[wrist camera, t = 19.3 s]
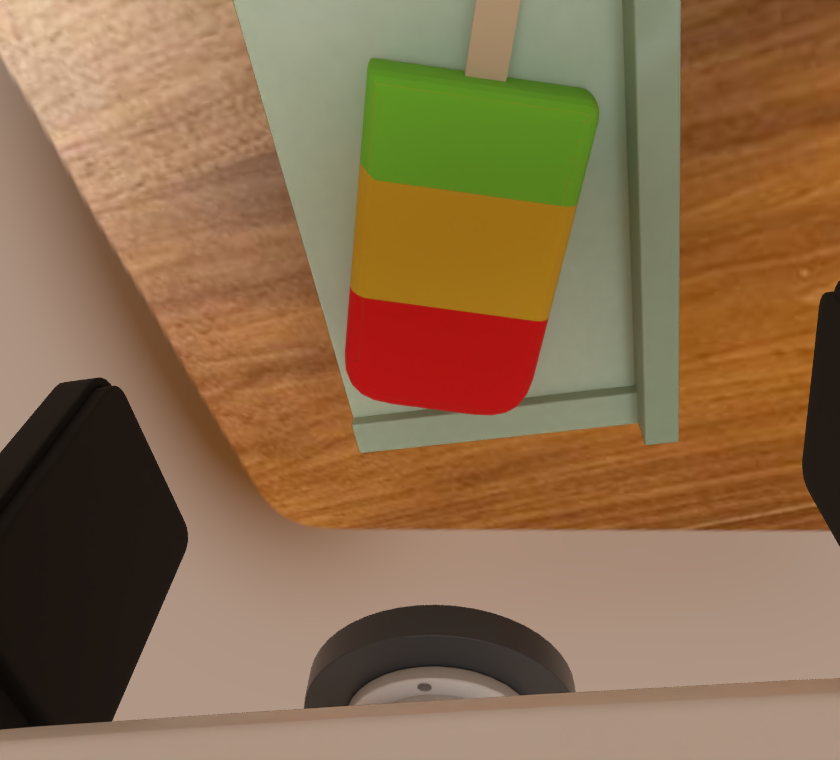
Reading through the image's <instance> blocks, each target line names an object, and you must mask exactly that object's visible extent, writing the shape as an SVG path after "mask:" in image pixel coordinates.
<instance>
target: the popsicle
mask: <svg viewBox="0 0 840 760" xmlns="http://www.w3.org/2000/svg"><path fill="white" fill-rule="evenodd" d="M520 1H521V0H476V2H475V9H474V16H473V22H472V29H471V36H470V42H469V49H468V56H467V63H466V69H465V71H460V70H453V69H446V68H439V67H432V66H425V65H418V64H411V63H404V62H397V61H390V60H383V59H376V58H371V59H370V61H369V63H368V67H367V79H366V92H365V105H364V117H363V130H362V142H361V155H360V167H359V179H358V192H357V204H356V217H355V229H354V242H353V254H352V267H351V280H350V293H349V305H348V318H347V330H346V343H345V368H346V372H347V374H348V377H349V379H350V382H351V383H352V385H353V386H354V387H355V388H356V389H357V390H358V391H359V392H360V393H361V394H363V395H365V396H367V397H369V398H371V399H373V400H376V401H381V402H385V403H390V404H396V405H404V406H411V407H419V408H426V409H434V410H442V411H449V412H457V413H464V414H472V415H497V414H502V413H506V412H508V411H510V410H512V409H514V408H515V407H517V406H518V405H519V403H520V402H521V401H522V400H523V399H524V397H525V396H526V395H527V393H528V391H529V388H530V386H531V383H532V381H533V378H534V374H535V370H536V366H537V362H538V358H539V354H540V350H541V346H542V343H543V339H544V335H545V331H546V327H547V323H548V319H549V315H550V311H551V307H552V303H553V299H554V295H555V291H556V287H557V283H558V279H559V275H560V271H561V267H562V263H563V259H564V256H565V252H566V248H567V244H568V240H569V236H570V232H571V228H572V224H573V220H574V216H575V212H576V208H577V204H578V200H579V196H580V192H581V188H582V184H583V180H584V176H585V172H586V169H587V165H588V161H589V157H590V153H591V149H592V145H593V141H594V137H595V133H596V129H597V125H598V121H599V107H598V104H597V101H596V99H595V98H594V96H593V95H592V94H591V93H590V92H589V91H588V90H586V89H584V88H579V87H572V86H565V85H558V84H551V83H544V82H537V81H530V80H523V79H516V78H509V77H507V73H508V68H509V62H510V57H511V51H512V46H513V40H514V34H515V29H516V23H517V18H518V12H519V7H520Z"/></svg>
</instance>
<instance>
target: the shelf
mask: <svg viewBox="0 0 840 760" xmlns="http://www.w3.org/2000/svg"><path fill="white" fill-rule="evenodd" d="M475 2H476V0H233V3H234V6H235V10H236V13H237V16H238V20H239V23H240V27H241V30H242V34H243V37H244V41H245V44H246V48H247V51H248V55H249V58H250V61H251V65H252V68H253V72H254V75H255V79H256V82H257V86H258V89H259V93H260V96H261V100H262V103H263V106H264V110H265V113H266V117H267V120H268V124H269V127H270V131H271V134H272V138H273V141H274V145H275V148H276V151H277V155H278V158H279V162H280V165H281V169H282V172H283V176H284V179H285V183H286V186H287V190H288V193H289V196H290V200H291V203H292V207H293V210H294V214H295V217H296V221H297V224H298V228H299V231H300V235H301V238H302V241H303V245H304V248H305V252H306V255H307V259H308V262H309V266H310V269H311V273H312V276H313V280H314V283H315V286H316V290H317V293H318V297H319V300H320V304H321V307H322V311H323V314H324V318H325V321H326V325H327V328H328V331H329V335H330V338H331V342H332V345H333V349H334V352H335V356H336V359H337V363H338V366H339V369H340V373H341V376H342V380H343V383H344V387H345V390H346V394H347V397H348V401H349V404H350V408H351V411H352V414H353V423H352V428H353V431H354V435H355V438H356V441H357V445H358V448H359V452H360V453H366V452H375V451H385V450H394V449H403V448H412V447H422V446H431V445H440V444H449V443H459V442H468V441H477V440H486V439H496V438H505V437H514V436H523V435H532V434H542V433H551V432H560V431H569V430H579V429H588V428H597V427H606V426H616V425H625V424H634V423H639V427H640V430H641V433H642V437H643V440H644V443H645V445H652V444H661V443H671V442H678V440H679V286H680V95H681V0H521V1H520V7H519V12H518V18H517V23H516V29H515V34H514V40H513V46H512V51H511V57H510V62H509V68H508V73H507V77H509V78H516V79H523V80H530V81H537V82H544V83H551V84H558V85H565V86H572V87H579V88H584V89H586V90H588V91H589V92H590V93H591V94H592V95H593V96H594V98H595V99H596V101H597V104H598V107H599V121H598V125H597V129H596V133H595V137H594V141H593V145H592V149H591V153H590V157H589V161H588V165H587V169H586V172H585V176H584V180H583V184H582V188H581V192H580V196H579V200H578V204H577V208H576V212H575V216H574V220H573V224H572V228H571V232H570V236H569V240H568V244H567V248H566V252H565V256H564V259H563V263H562V267H561V271H560V275H559V279H558V283H557V287H556V291H555V295H554V299H553V303H552V307H551V311H550V315H549V319H548V323H547V327H546V331H545V335H544V339H543V343H542V346H541V350H540V354H539V358H538V362H537V366H536V370H535V374H534V378H533V381H532V383H531V386H530V388H529V391H528V393H527V395H526V396H525V397H524V399H523V400H522V401H521V402H520V403H519V405H518V406H517V407H515V408H514V409H512V410H510V411H508V412H506V413H502V414H497V415H472V414H464V413H457V412H449V411H442V410H434V409H426V408H419V407H411V406H404V405H396V404H390V403H385V402H381V401H376V400H373V399H371V398H369V397H367V396H365V395H363V394H361V393H360V392H359V391H358V390H357V389H356V388H355V387H354V386H353V385H352V383H351V382H350V379H349V377H348V374H347V372H346V368H345V343H346V330H347V318H348V305H349V293H350V280H351V267H352V254H353V242H354V229H355V217H356V204H357V192H358V179H359V167H360V155H361V142H362V130H363V117H364V105H365V92H366V79H367V67H368V63H369V61H370V59H371V58H376V59H383V60H390V61H397V62H404V63H411V64H418V65H425V66H432V67H439V68H446V69H453V70H460V71H465V69H466V63H467V56H468V49H469V42H470V36H471V29H472V22H473V16H474V9H475Z"/></svg>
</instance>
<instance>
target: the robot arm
mask: <svg viewBox="0 0 840 760" xmlns="http://www.w3.org/2000/svg"><path fill="white" fill-rule="evenodd" d="M802 468H803V476H804V480H805V483H806V486H807V489H808V491H809V493H810V495H811V496H812V498H813V500H814V502H815V503H816V505H817V507H818V509H819V511H820V512H821V514H822V516H823V518H824V519H825V521H826V523H827V525H828V527H829V528H830V530H831V532H832V534H833V535H834V537H835V539H836V541H837V543H838V544H839V546H840V281H839V282H838V283H837V285H836V287H835V291H834V292H826V293H824V294H823V295H822V298H821V300H820V305H819V313H818V322H817V331H816V341H815V350H814V359H813V368H812V377H811V386H810V396H809V405H808V414H807V423H806V432H805V442H804V451H803V460H802ZM187 543H188V532H187V527H186V524H185V522H184V519H183V517H182V515H181V513H180V511H179V509H178V507H177V504H176V502H175V500H174V498H173V496H172V494H171V492H170V490H169V488H168V485H167V483H166V481H165V479H164V477H163V475H162V473H161V470H160V468H159V466H158V464H157V462H156V460H155V458H154V455H153V453H152V451H151V449H150V447H149V445H148V443H147V441H146V438H145V436H144V434H143V432H142V430H141V428H140V426H139V424H138V421H137V419H136V417H135V415H134V413H133V411H132V409H131V407H130V404H129V402H128V400H127V398H126V396H125V394H124V392H123V391H122V390H121V389H120V388H119V387H117V386H111V384H110V383H109V382H108V381H107V380H105V379H103V378H93V379H86V380H78V381H70V382H64V383H60V384H59V385H57V386H56V387H55V388H54V389H53V390H52V392H51V393H50V394H49V395H48V397H47V398H46V399H45V400H44V401H43V402H42V404H41V405H40V406H39V407H38V408H37V410H36V411H35V412H34V413H33V414H32V416H31V417H30V418H29V419H28V420H27V422H26V423H25V424H24V425H23V426H22V428H21V429H20V430H19V431H18V432H17V434H16V435H15V436H14V437H13V438H12V439H11V441H10V442H9V443H8V444H7V446H6V447H5V448H4V449H3V450H2V451H1V453H0V760H840V678H835V679H811V680H789V681H770V682H754V683H735V684H718V685H701V686H683V687H664V688H648V689H647V688H646V689H628V690H610V691H593V692H574V693H557V694H539V695H522V696H520V695H519V694H518V693H517V692H515V691H514V690H513V689H511V688H510V687H508V686H507V685H506V684H504V683H502V682H500V681H498V680H496V679H494V678H492V677H489V676H487V675H484V674H481V673H478V672H475V671H470V670H465V669H460V668H455V667H443V666H424V667H414V668H407V669H401V670H398V671H394V672H391V673H388V674H385V675H383V676H381V677H379V678H376V679H374V680H372V681H370V682H369V683H368V684H366V685H365V686H364V687H362V688H361V689H360V690H359V691H358V692H357V693H356V694H355V695H354V697H353V698H352V699H351V701H350V704H349V706H342V707H326V708H310V709H294V710H280V711H279V710H278V711H263V712H247V713H232V714H217V715H203V716H187V717H172V718H159V719H144V720H128V721H113V722H112V720H113V718H114V715H115V713H116V711H117V708H118V706H119V704H120V701H121V699H122V696H123V694H124V692H125V690H126V688H127V685H128V683H129V680H130V678H131V676H132V674H133V671H134V669H135V667H136V664H137V662H138V660H139V657H140V655H141V653H142V650H143V648H144V646H145V644H146V641H147V639H148V636H149V634H150V632H151V630H152V627H153V625H154V623H155V620H156V618H157V616H158V614H159V611H160V609H161V606H162V604H163V601H164V600H165V597H166V595H167V593H168V590H169V588H170V586H171V583H172V581H173V579H174V576H175V574H176V572H177V569H178V567H179V565H180V563H181V560H182V558H183V556H184V553H185V551H186V547H187Z"/></svg>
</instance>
